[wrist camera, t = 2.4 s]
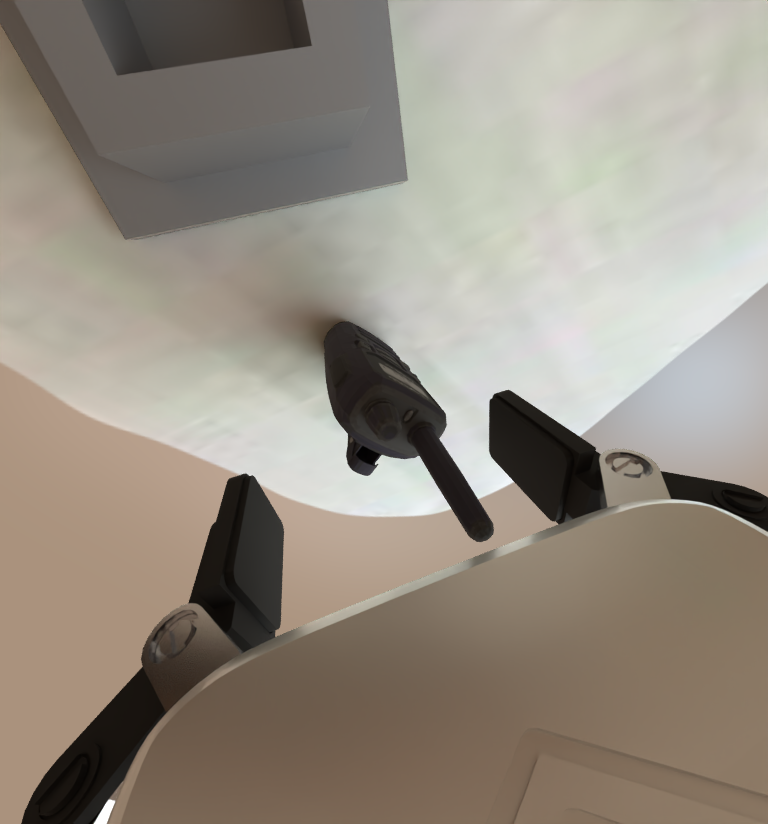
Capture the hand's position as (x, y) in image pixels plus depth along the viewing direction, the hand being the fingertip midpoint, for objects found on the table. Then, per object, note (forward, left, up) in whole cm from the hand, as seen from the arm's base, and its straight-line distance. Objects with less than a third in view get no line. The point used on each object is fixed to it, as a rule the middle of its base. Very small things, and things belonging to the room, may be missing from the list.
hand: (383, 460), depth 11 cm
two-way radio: (-1, 0, -11) cm, 11 cm away
